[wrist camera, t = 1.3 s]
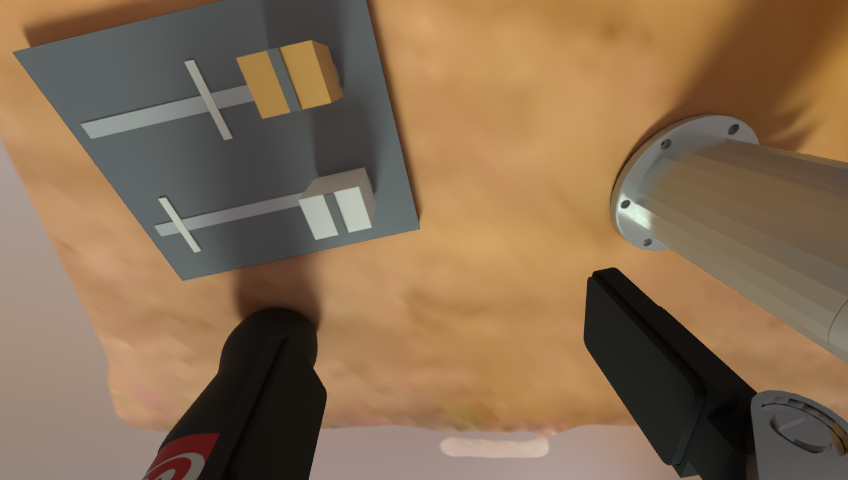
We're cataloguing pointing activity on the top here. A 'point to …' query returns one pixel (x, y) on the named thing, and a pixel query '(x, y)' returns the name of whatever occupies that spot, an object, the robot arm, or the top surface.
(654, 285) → the top surface
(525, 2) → the top surface
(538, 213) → the top surface
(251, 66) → the fader orange
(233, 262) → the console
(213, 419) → the cola bottle
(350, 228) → the fader white
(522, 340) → the top surface
